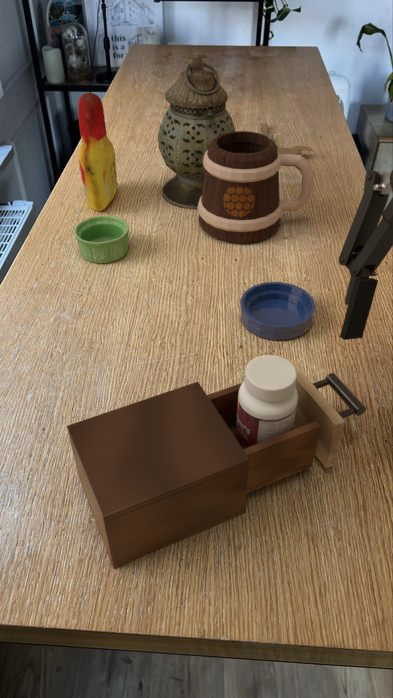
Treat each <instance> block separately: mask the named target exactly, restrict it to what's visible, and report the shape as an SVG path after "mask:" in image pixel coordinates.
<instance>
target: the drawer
mask: <svg viewBox="0 0 393 698" xmlns="http://www.w3.org/2000/svg"><path fill="white" fill-rule="evenodd" d="M287 360H288V361H290V362H291V363H292V364H293V365H294V367H295V369H296V372H297V379H296V390H297V393H298V403H297V409H296V415H295V421H294V427H293V430H292V431H289V432H287V433H284V434H281V435H279V436H276V437H274V438H271V439H269V440H266V441H263V442H261V443H258V444H256V445H253V446H251V447H248V448H245V449H243V450H244V452H245V453H246V455H247V456H248V458H249V473H248V485H247V494H249V493H250V494H251V493H252V492H255V491H257V490H260V489H262V488H265V487H266V486H269V485H271V484H273V483H276V482H279V481H281V480H283V479H286V478H288V477H290V476H293V475H295V474H298V473H301V472H303V471H305V470H307V469H309V468H312V467H313V466H314V461H315V456H316V457H317V459H318V460H319V461H320V463H321V464H322V465H323V466H324V468H325V469H328V468H330V467H333V466H335V465H336V461H337V457H338V452H339V449H340V444H341V440H342V436H343V431H344V428H345V423H346V421H345V419H346V418H348V417H351V416H352V415H355V416H356V417H359V416H362V415H363V414H365V412H366V410H367V407H366V406H365V405H364V404H363V402H362V401H361V400H360V399H359V398H358V397H357V396H356V395H355V394H354V393H353V392H352V391H351V389H350V388H349V387H348V386H347V385H346V384H345V383H344V382H343V381H342V379H341V378H339V376H337V374H336V373H334V372H330V373H328V374H327V375H326V377H325V378H324V379H321V380H319V381H316V382H313V383H312V381H311V380H310V379H309V378H308V377H307V376H306V375H305V373H304V372H303V370H301V369H300V367H299V366H298V365H297V364H296V363H295V362H294V360H292V359H287ZM242 383H243V382H240V383H237V384H235V385H232V386H229V387H226V388H223V389H220V390H218V391H214V392H212V393H209V394H207V396H208V397H209V399H210V401H211V402H212V404H213V405H214V407H215V408H216V410H217V411H218V413H219V414H220V416H221V417H222V419H223V420H224V422H225V423H226V425H227V426H228V428H229V429H230V431H231V432H232V434H233V435H234V437H235V438H236V422H237V408H238V395H239V389H240V386H241V384H242ZM327 386H329V388H330V389H332V391H334V393H335V394H336V395H337V396H338V397H339V399H341V401H343V403H344V404H345V405H346V407H347V409H343V410H341V411H339V412H337V410H336V409H335V408H334V407H333V405H332V404H331V403H330V402H329V401H328V400H327V398H326V397H325V396H324V395H323V394H322V393H321V392H320V390H319V389H321V388H324V387H327Z"/></svg>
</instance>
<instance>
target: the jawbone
mask: <svg viewBox="0 0 393 698" xmlns="http://www.w3.org/2000/svg"><path fill="white" fill-rule="evenodd" d="M260 127H261V130H262V134H263V135H265V136H267V137H269V138H270V139H272V140H273V139H274V134H270V132H269V131H270V129H269V125H268V123H267V122H262V123H260ZM275 144H276V146H277V150H278V152H279V154H294V155H301V156H302V157H303V152H302V151H305V152H308V153H311V152H313V153H314V152H315V151H314V149H313V148H312V147H310V146H307V145H295V146H291V147H281V146H278V144H277V143H276V142H275Z"/></svg>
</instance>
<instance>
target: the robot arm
mask: <svg viewBox="0 0 393 698" xmlns="http://www.w3.org/2000/svg"><path fill="white" fill-rule="evenodd" d="M390 193H393V169H392V170H391V171H379V170H368V171H367V172H366V173H365V176H364V187H363V193H362V196H361V199H360V202H359V205H358V207H357V208H356V209H357V210H356V212H355V214H354V217H353V220H352V222H351V225H350V228H349V231H348V233H347V235H346V238H345V241H344V242H343V243H344V244H343V246H342V248H341V251H340V254H339V256H338V263H339V265H340V266H344V267H345V268H346V269H347V270H348V272H349V275H350V278H349V282H348V286H347V290H346V294H345V297H344V304H345V305H347V308H346V311H345V316H344V320H343V323H342V326H341V330H340V333H339V338H340V339H342V340H345V341H347V340H348V341H349V340H355V339H356V340H358V339H362V338H363V337H364V333H365V330H366V326H367V321H368V320H369V319H368V318H369V315H370V312H371V308H372V304H373V301H374V297H375V293H376V291H377V287H378V283H379V280H378V279H376V278H373V277H376V276H378V273H377V269H378V268H379V266H380V265H381V264H382V263H383V261H384V259H385V258H386V256H387V255H388V253H389V252H390V250H391V249H392V248H393V197H391V199H390V201H389V202H388V200H389V196H390ZM387 203H388V204H387Z"/></svg>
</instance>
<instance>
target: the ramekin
mask: <svg viewBox="0 0 393 698" xmlns="http://www.w3.org/2000/svg"><path fill="white" fill-rule="evenodd" d="M129 232H130V226H129V223H128V222H127V221H126V220H125V219H123V218H121V217H119V216H115V215H107V214H105V215H103V214H102V215H95V216H91V217H87V218H84V219H83V220H81V221H80V222H78V224H77V225H76V226H75V227H74V232H73V233H74V237H75V239H76V242H77V245H78V249H79V252H80V255H81V257H82V258H83V259H84V260H86V261H88V262H91V263H95V264H109V263H113V262H116V261H118V260H121V259H122V258H123V257H124V256H125V255H127V253H128V250H129Z"/></svg>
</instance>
